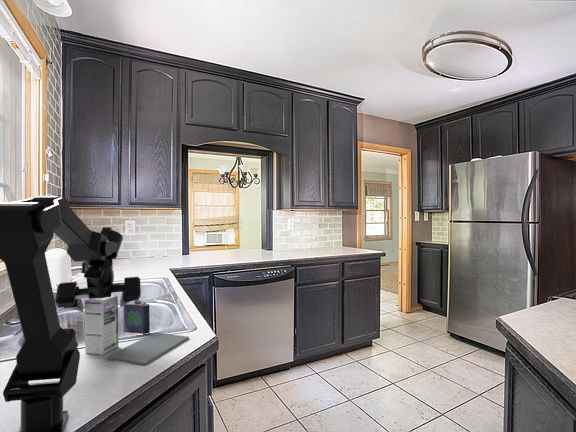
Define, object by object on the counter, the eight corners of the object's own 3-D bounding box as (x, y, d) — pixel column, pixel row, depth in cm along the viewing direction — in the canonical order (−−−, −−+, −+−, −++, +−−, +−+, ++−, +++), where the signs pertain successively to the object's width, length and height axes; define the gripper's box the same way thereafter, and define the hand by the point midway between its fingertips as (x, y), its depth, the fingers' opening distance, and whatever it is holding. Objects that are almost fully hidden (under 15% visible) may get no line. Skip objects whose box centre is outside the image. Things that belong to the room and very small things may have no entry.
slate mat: (144, 365, 77) (144, 363, 77) (106, 359, 81) (106, 356, 81) (188, 338, 94) (188, 336, 94) (155, 334, 98) (155, 332, 98)
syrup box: (103, 355, 83) (103, 300, 83) (83, 353, 84) (84, 298, 84) (118, 346, 89) (119, 294, 89) (100, 344, 90) (100, 293, 90)
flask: (121, 332, 100) (121, 298, 100) (127, 328, 103) (128, 295, 103) (146, 334, 98) (146, 300, 98) (152, 331, 101) (152, 297, 101)
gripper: (140, 247, 87) (138, 280, 97) (57, 251, 79) (64, 287, 88) (141, 281, 80) (139, 313, 90) (51, 288, 72) (59, 323, 81)
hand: (102, 308), depth 88 cm, fingers open, 9 cm apart
